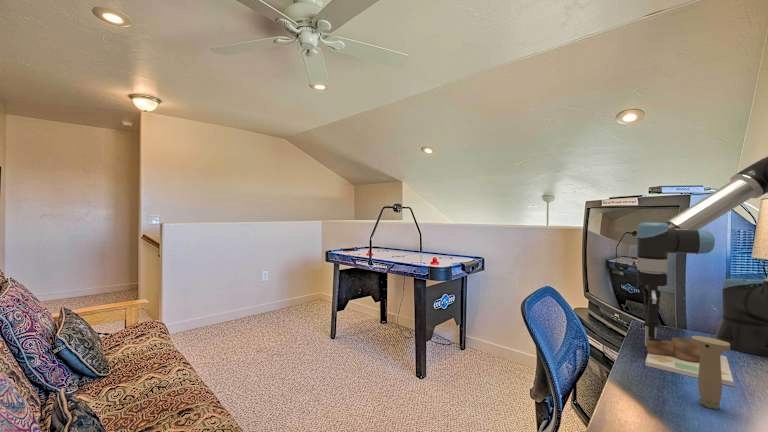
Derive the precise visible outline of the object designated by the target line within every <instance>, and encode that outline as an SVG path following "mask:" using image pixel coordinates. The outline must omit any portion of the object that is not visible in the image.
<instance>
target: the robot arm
mask: <svg viewBox="0 0 768 432" xmlns="http://www.w3.org/2000/svg"><path fill="white" fill-rule="evenodd" d="M765 194H768V156H765V157H763V158H761V159H760V160H757V161H756V162H753V163H752V164H750V165H748V166H747V167H745V168H743V169H742V170H740V171H738V173H737V172H736V174H734V175H732V176H731V178H730V180H729V182H728V183H725V185H723V186H721V187H720V188H718V189H716V190H715V191H713V192H711V193H710V194H708V195H706V196H705V197H704V198H702V199H700V200H699V201H697V202H696V203H694V204H692V205H691V206H689V207H688V208H686V209H685V210H682V211H681V212H679V213H678V214H676V215H675V216H673V217H672V218H670V219H668V220H666V221H664V222H640V223H639V224H638V226H637V227H638V228H637V234H636V238H637V239H636V240H637V244H636V245H637V246H636V247H637V251H636V253H637V254H636V255H637V257H636V258H637V259H636V260H634V263H636V268H637V272H636V282H637V283H638V284H640V285H644V286H645V288H643V289H642V294H643V303H644V305H643V306H644V309H643V310H644V317H643V319H644V322H643V326H644V346H645V347H647V338H656V339H657V330H658V329H657V328H658V327H659V314H660V312H659V310H660V302H661V299H660V298H661V291H659V289H658V287H666V286H667V285H668V274H667V273H668V269H669V268H668V266H669V265H668V261H669V259H668V255H669V254H695V255H699V254H700V255H701V254H708V253H711V252H712V251H713V250H714V248H715V246H716V243H715V241H716V240H715V236H714V235H713V233H712V232H711V231H710V230H707V229H703V228H705V226H707V225H709V224H710V223H713V222H714V221H715V220H717V219H718V218H720V217H722V216H725V215H726V214H727V213H729V212H730V211H732V210H734V209H735V208H737V207H739V206H740V205H742V204H744V203H745V202H747V201H749V200H750V199H758V198H761V197H762V196H764V195H765ZM722 283H723V284H722V289H721V291H722V321H721V323H720V325H719V327H718V329H717V331H716V333H715V337H714V339H718V340H721V341H725V342H728V343H730V350H734V351H738V352H741V353H746V354H751V355H757V356H766V357H767V356H768V277H767V278H764V279H757V278H756V279H755V278H754V279H753V278H752V279H750V278H748V279H747V278H726V279H724V281H723V282H722Z"/></svg>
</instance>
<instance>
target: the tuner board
mask: <svg viewBox="0 0 768 432" xmlns="http://www.w3.org/2000/svg"><path fill="white" fill-rule="evenodd" d="M720 360H721V376H722V385H727V386H730V387H734V379H733V375H732V372H731V368H730V365H729V362H728V357H727V356H726V355H722V354H721V356H720ZM644 363H645V367H649V368H655V369H659V370H662V371H668V372H671V373H676V374H679V375H684V376H688V377H692V378H697V379H698V374H699V364H700V362H693V361H687V360H683V359H680V358H677V357H675V356H668V355H661V354H654V353H649V352H648V351H647V355H646V358H645V362H644Z"/></svg>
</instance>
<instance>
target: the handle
mask: <svg viewBox="0 0 768 432" xmlns="http://www.w3.org/2000/svg"><path fill="white" fill-rule="evenodd" d="M691 339H692V343H693V344H694V345H696V346H697V347H699V348H700V364H699V374H698V378H697V386H698V394H699V403H700V405H702V406H704V407H705V408H708V409H714V410H718V409H719V408H720V405H721V400H722V395H723V394H722V393H723V384H722V376H721V360H720V356H721V355H722V353H725V352H729V351H730V350H731V349H730V343H728V342H725V341H721V340H718V339H715V338H712V337H707V336H702V335H701V336H700V335H692V336H691Z"/></svg>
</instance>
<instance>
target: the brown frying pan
mask: <svg viewBox="0 0 768 432" xmlns="http://www.w3.org/2000/svg"><path fill="white" fill-rule="evenodd" d="M646 351H647V353H648V352H649V353H654V354H661V355H668V356H675V357H677V358H680V359H683V360H687V361H693V362H700V348H699V347H697V346H696V345H694V344H693V343H692V338H687V337H682V336H674V337H671V340H665V339H664V340H663V339H661V338H657V337H656V338H647V346H646Z"/></svg>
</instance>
